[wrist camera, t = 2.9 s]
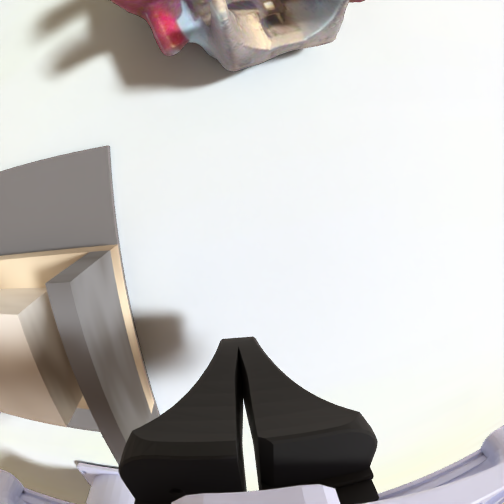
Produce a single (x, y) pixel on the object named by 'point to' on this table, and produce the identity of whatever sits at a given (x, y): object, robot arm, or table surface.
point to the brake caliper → (240, 26)
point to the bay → (61, 217)
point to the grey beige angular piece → (71, 342)
